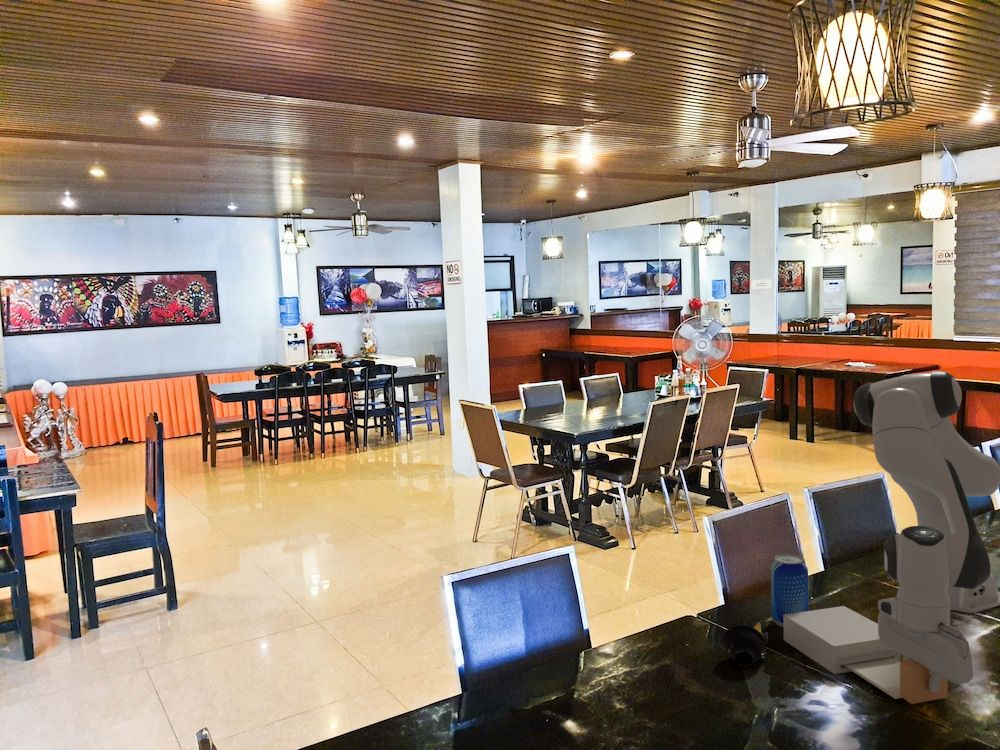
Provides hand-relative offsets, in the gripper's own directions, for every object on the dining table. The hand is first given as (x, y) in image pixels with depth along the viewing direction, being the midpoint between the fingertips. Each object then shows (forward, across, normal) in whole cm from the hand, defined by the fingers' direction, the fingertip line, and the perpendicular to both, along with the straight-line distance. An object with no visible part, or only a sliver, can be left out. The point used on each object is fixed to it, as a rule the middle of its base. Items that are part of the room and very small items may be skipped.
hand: (923, 685), depth 148 cm
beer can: (+4, +42, +1) cm, 42 cm away
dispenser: (+4, +24, 0) cm, 25 cm away
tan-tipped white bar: (+2, +10, 0) cm, 10 cm away
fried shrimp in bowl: (+4, +30, +19) cm, 35 cm away
